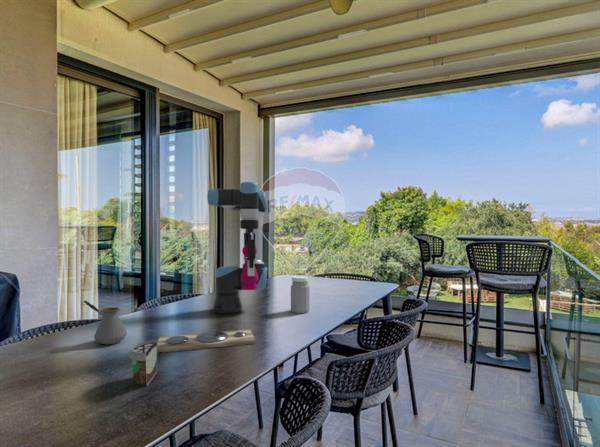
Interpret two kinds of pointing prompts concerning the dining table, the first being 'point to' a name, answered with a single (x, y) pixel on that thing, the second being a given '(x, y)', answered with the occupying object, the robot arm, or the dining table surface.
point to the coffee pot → (109, 326)
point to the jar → (300, 294)
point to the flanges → (216, 336)
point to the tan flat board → (194, 344)
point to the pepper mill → (247, 280)
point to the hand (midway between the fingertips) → (249, 274)
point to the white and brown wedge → (144, 362)
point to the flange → (177, 340)
